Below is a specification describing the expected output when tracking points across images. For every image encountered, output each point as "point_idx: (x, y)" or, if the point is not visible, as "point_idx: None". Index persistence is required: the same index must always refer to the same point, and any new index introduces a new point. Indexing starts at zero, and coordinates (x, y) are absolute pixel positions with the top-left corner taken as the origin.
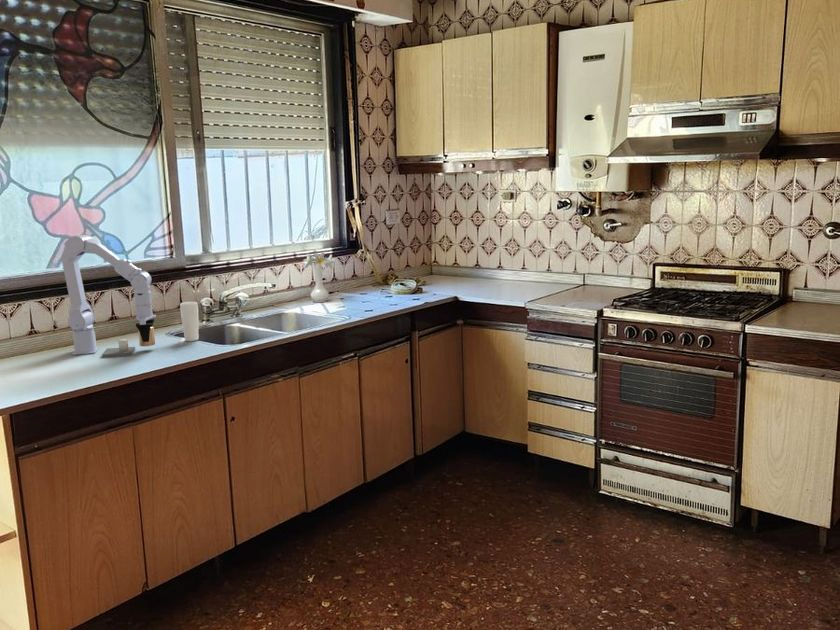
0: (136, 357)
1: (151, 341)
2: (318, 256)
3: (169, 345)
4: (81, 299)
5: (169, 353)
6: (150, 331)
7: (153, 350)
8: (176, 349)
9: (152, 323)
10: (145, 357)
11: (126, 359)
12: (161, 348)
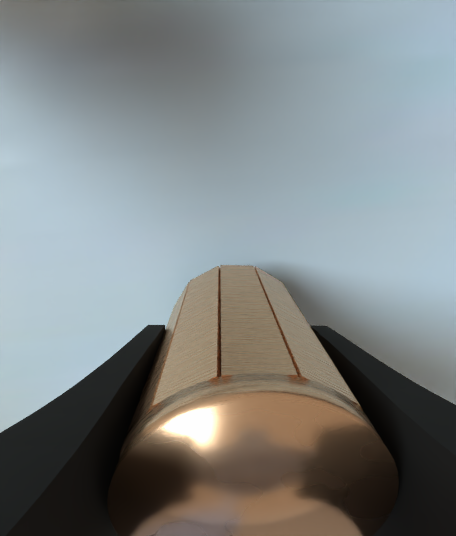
0: (408, 341)
1: (294, 302)
2: None
3: (97, 147)
4: None
5: (427, 124)
6: (344, 385)
7: (250, 263)
8: (296, 62)
9: (44, 501)
10: (444, 292)
11: (424, 382)
12: (201, 209)
